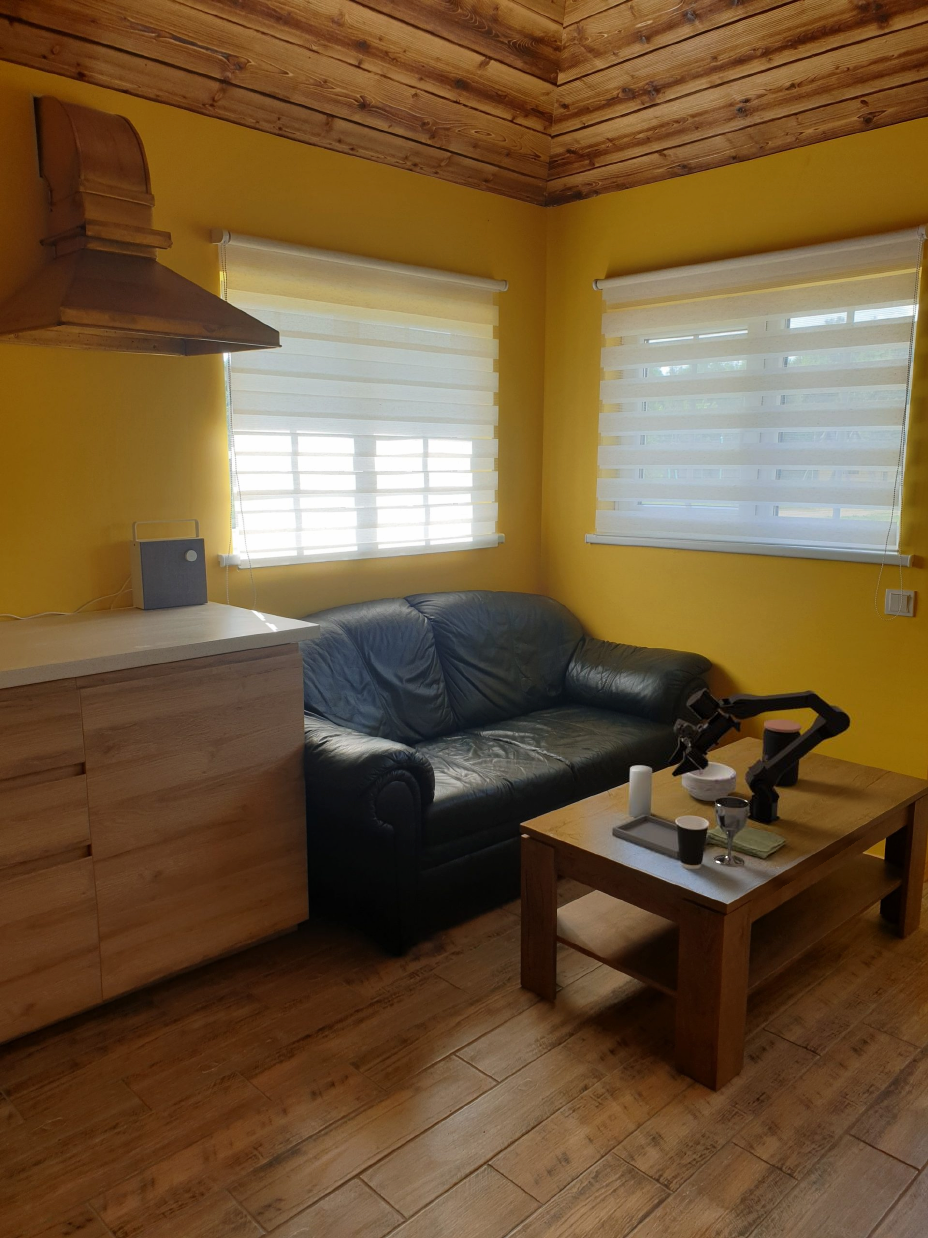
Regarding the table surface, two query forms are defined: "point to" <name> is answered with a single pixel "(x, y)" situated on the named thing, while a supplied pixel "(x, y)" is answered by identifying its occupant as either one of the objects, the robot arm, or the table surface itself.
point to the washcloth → (748, 841)
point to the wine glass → (731, 825)
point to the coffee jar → (781, 746)
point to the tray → (651, 834)
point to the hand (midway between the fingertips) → (671, 769)
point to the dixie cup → (691, 840)
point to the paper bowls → (710, 782)
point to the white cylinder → (640, 790)
